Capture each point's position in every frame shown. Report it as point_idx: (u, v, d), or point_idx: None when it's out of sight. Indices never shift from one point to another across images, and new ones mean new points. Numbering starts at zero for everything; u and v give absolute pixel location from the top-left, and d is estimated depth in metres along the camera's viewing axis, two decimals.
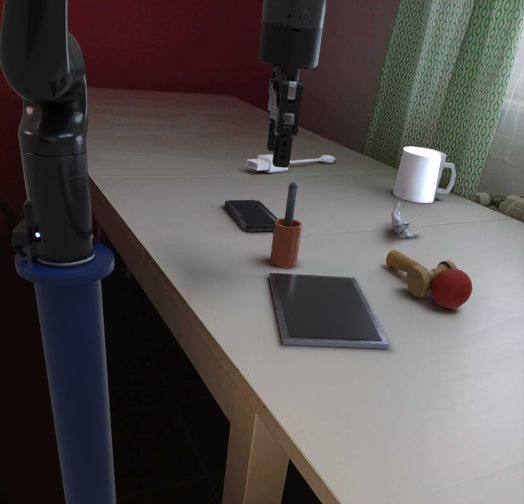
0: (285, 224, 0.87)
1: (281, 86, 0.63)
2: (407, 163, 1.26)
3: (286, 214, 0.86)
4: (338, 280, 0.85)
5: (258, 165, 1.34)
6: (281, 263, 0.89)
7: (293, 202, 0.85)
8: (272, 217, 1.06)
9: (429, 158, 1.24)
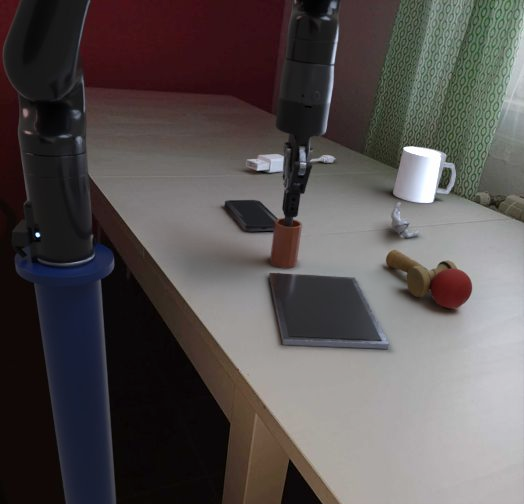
0: (285, 224, 0.87)
1: (293, 167, 0.77)
2: (407, 163, 1.26)
3: None
4: (338, 280, 0.85)
5: (258, 165, 1.34)
6: (281, 263, 0.89)
7: None
8: (272, 217, 1.06)
9: (429, 158, 1.24)
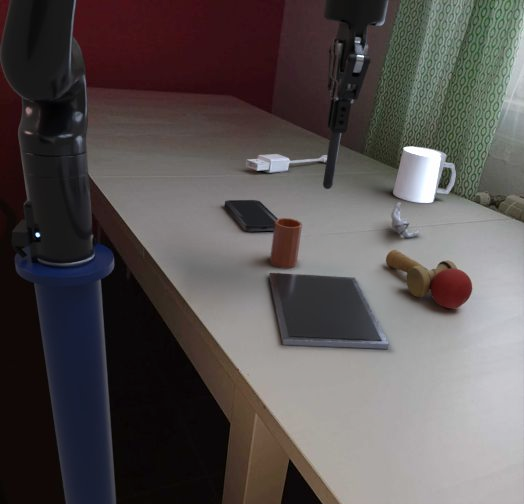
0: (331, 143, 0.74)
1: (348, 61, 0.63)
2: (407, 163, 1.26)
3: None
4: (338, 280, 0.85)
5: (258, 165, 1.34)
6: (281, 263, 0.89)
7: None
8: (272, 217, 1.06)
9: (429, 158, 1.24)
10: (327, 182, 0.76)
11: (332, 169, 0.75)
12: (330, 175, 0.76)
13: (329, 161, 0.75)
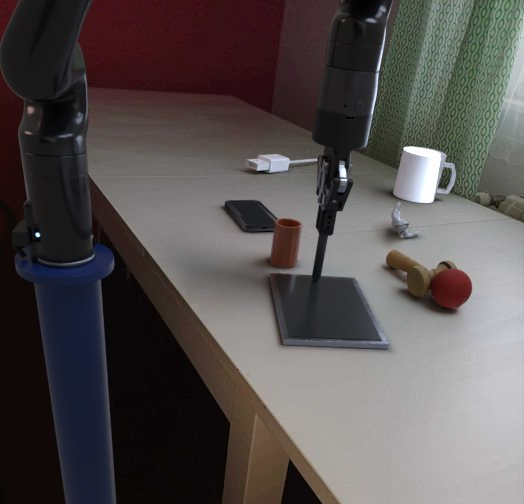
0: (319, 243, 0.80)
1: (333, 183, 0.70)
2: (407, 163, 1.26)
3: None
4: (338, 280, 0.85)
5: (258, 165, 1.34)
6: (281, 263, 0.89)
7: None
8: (272, 217, 1.06)
9: (429, 158, 1.24)
10: (315, 275, 0.83)
11: (320, 265, 0.82)
12: (318, 270, 0.83)
13: (318, 258, 0.82)
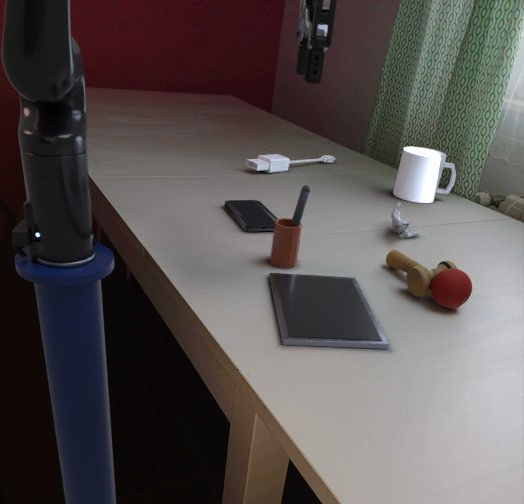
0: (292, 225, 0.87)
1: None
2: (407, 163, 1.26)
3: (294, 215, 0.86)
4: (338, 280, 0.85)
5: (258, 165, 1.34)
6: (281, 263, 0.89)
7: (303, 205, 0.85)
8: (272, 217, 1.06)
9: (429, 158, 1.24)
10: None
11: None
12: None
13: None
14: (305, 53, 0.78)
